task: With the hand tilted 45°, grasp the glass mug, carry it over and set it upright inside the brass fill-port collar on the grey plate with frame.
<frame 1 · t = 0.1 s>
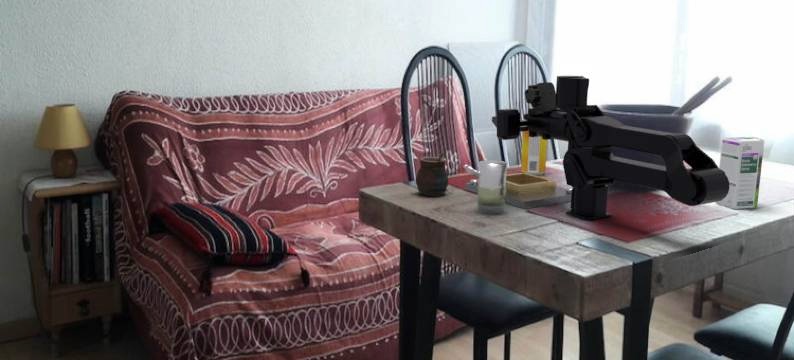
hand: (508, 117, 155), 17 cm above the table, tool horizontal, fingers open, 9 cm apart
mate gourd: (432, 195, 153), on the table
grey plate with frame: (521, 194, 154), on the table
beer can: (533, 174, 176), on the table
syrup box: (735, 206, 145), on the table
glass mug: (490, 211, 139), on the table
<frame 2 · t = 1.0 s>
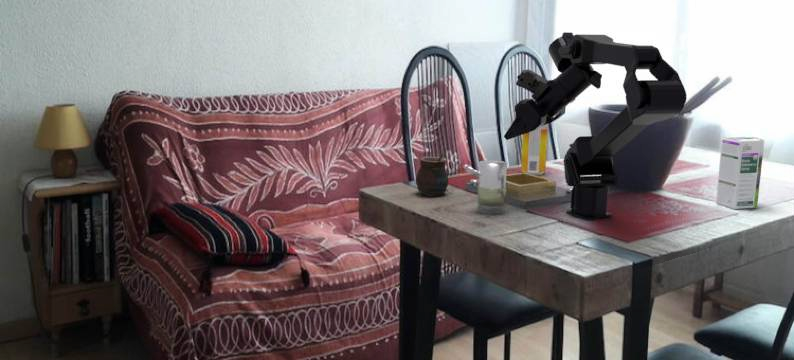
hand: (512, 134, 148), 14 cm above the table, tool tilted 45°, fingers open, 9 cm apart
nothing on the table moved.
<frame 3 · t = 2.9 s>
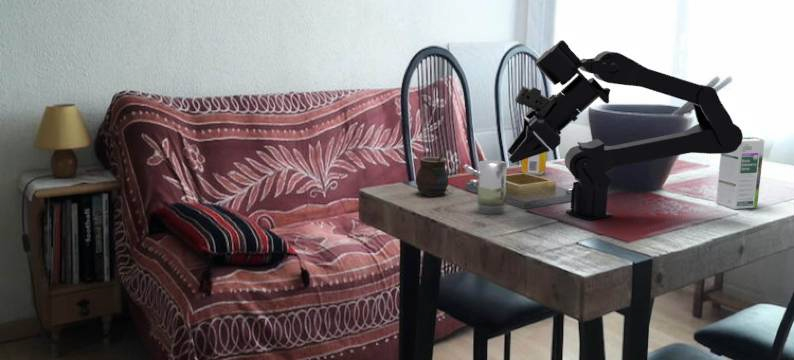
hand: (509, 157, 136), 11 cm above the table, tool tilted 45°, fingers open, 9 cm apart
nothing on the table moved.
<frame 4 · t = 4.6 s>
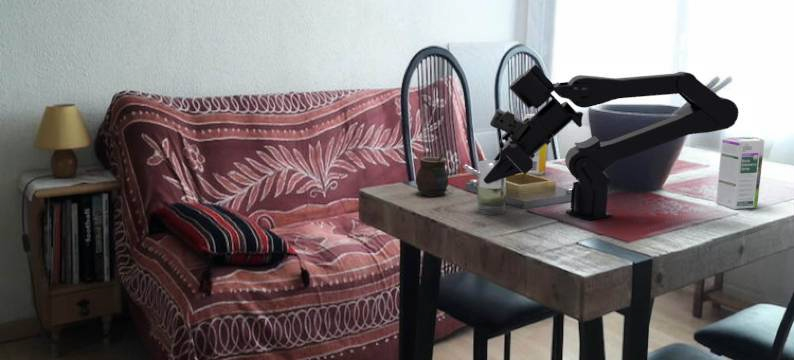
hand: (485, 178, 138), 7 cm above the table, tool tilted 45°, fingers closed on glass mug, 5 cm apart
glass mug: (490, 211, 139), on the table, touching gripper
everything else where it was.
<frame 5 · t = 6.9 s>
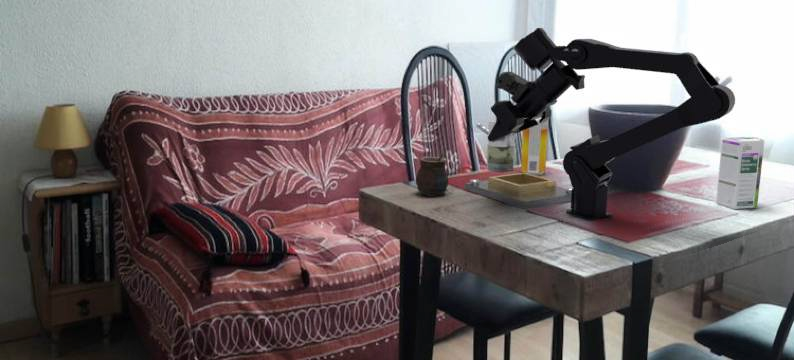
hand: (495, 138, 146), 13 cm above the table, tool tilted 45°, fingers closed on glass mug, 5 cm apart
glass mug: (500, 169, 146), point 7 cm above the table, touching gripper
everything else where it was.
when the fingers open (9 cm above the table, at t = 9.1 s): glass mug stays where it is, resting on grey plate with frame.
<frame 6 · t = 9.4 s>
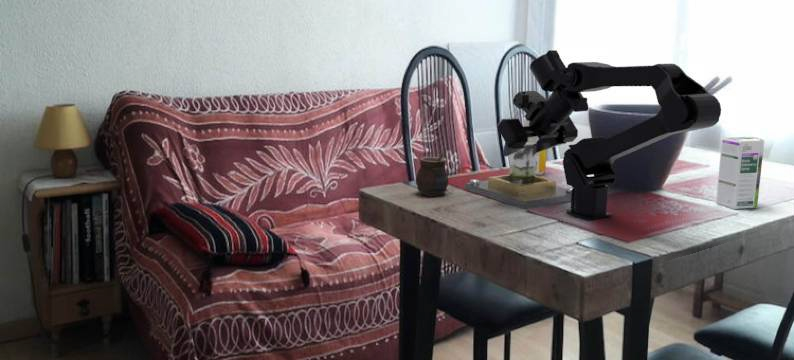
hand: (518, 153, 153), 9 cm above the table, tool tilted 45°, fingers open, 8 cm apart
glass mug: (521, 187, 153), point 2 cm above the table, touching grey plate with frame
everything else where it was.
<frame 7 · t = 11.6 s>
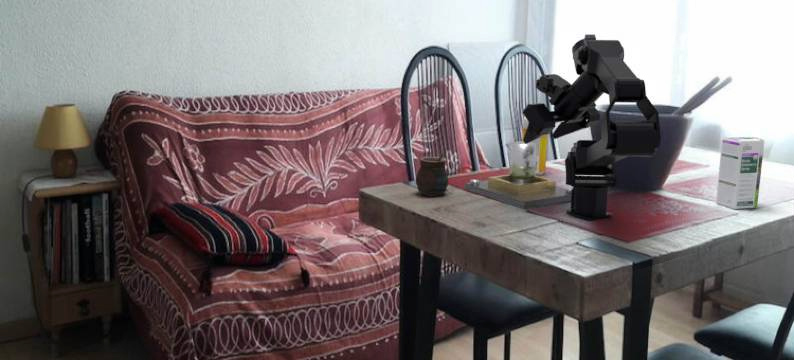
hand: (539, 139, 148), 13 cm above the table, tool tilted 45°, fingers open, 9 cm apart
nothing on the table moved.
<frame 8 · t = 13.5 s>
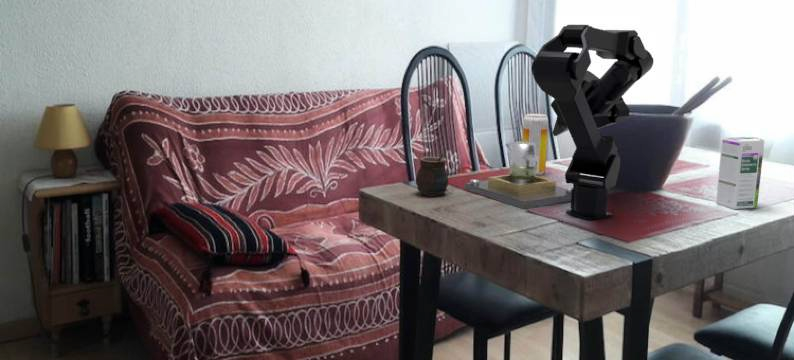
hand: (569, 133, 153), 14 cm above the table, tool tilted 45°, fingers open, 9 cm apart
nothing on the table moved.
at the end: glass mug 0.0 cm off-centre on the grey plate with frame, point 1.5 cm above the grey plate with frame's base; glass mug tilted 0°; the gripper is holding nothing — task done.
